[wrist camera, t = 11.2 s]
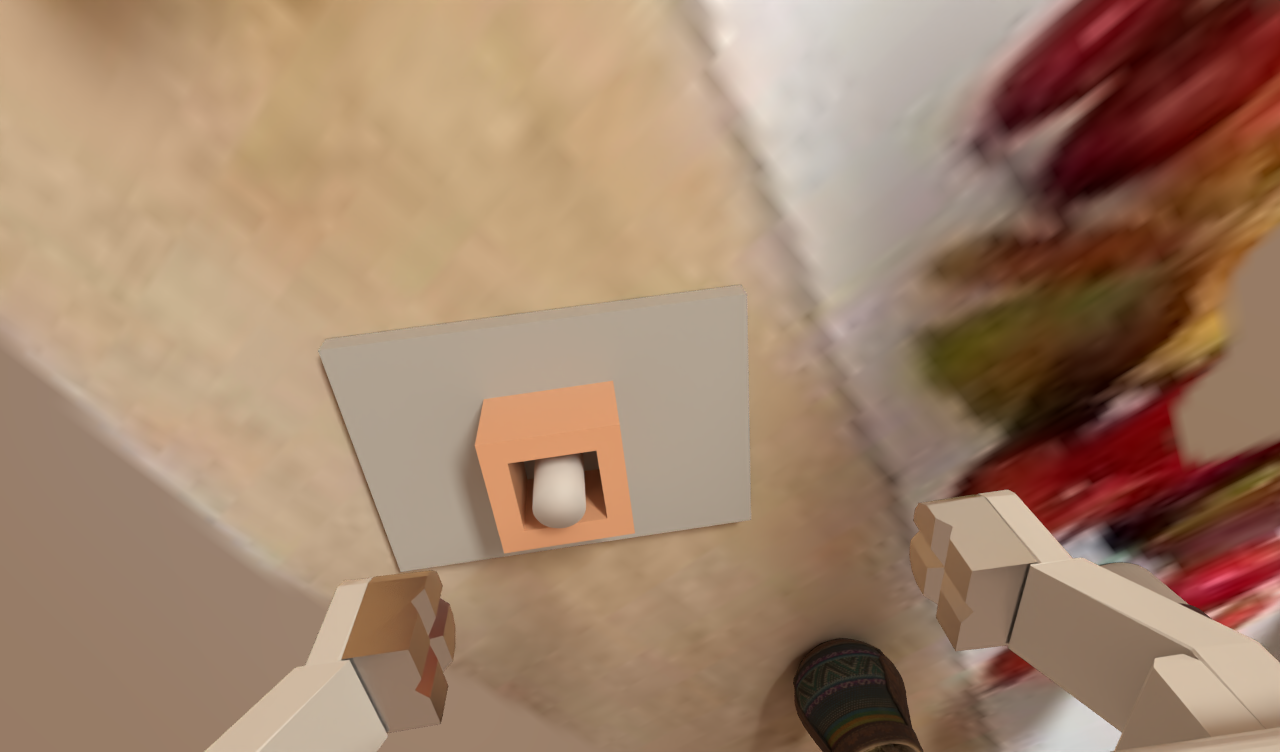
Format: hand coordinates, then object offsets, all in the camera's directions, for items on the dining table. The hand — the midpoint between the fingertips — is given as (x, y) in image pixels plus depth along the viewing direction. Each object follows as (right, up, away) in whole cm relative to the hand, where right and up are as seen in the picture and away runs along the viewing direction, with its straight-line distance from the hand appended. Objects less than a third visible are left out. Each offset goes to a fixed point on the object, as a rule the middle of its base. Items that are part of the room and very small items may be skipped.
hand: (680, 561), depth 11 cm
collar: (-5, 0, +23) cm, 23 cm away
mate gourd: (+13, -17, +36) cm, 42 cm away
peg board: (-5, 0, +24) cm, 25 cm away
